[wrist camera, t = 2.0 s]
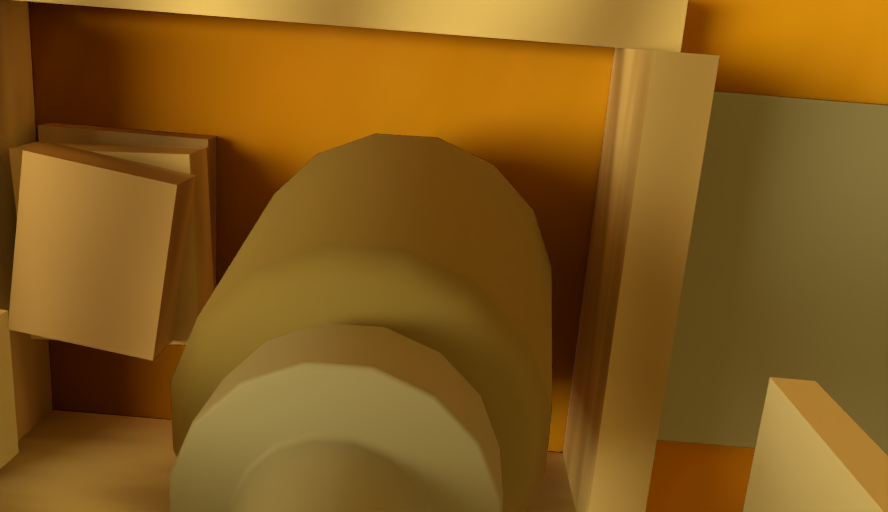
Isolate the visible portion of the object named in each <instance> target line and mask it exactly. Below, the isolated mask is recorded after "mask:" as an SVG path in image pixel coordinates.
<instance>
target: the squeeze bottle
mask: <svg viewBox="0 0 888 512" xmlns="http://www.w3.org/2000/svg"><path fill="white" fill-rule="evenodd" d="M170 383H171V411H172V438H173V451H174V453H175V455H176V457H177V458H176V460H175V463H174V465H173V467H172V470H171V472H170V474H169V497H170V512H524V510H525V508H526V506H527V505H528V503H529V501H530V500H531V498H532V496H533V495H534V493H535V491H536V489H537V488H538V486H539V484H540V483H541V481H542V479H543V478H544V476H545V471H546V461H547V451H548V442H549V432H550V422H551V413H552V266H551V263H550V259H549V256H548V253H547V250H546V247H545V244H544V241H543V238H542V235H541V232H540V229H539V226H538V223H537V219H536V216H535V213H534V210H533V209H532V208H531V207H530V206H529V205H528V204H527V202H526V201H525V200H524V199H523V198H522V197H521V196H520V194H519V193H518V192H517V191H516V190H515V189H514V188H513V186H512V185H511V184H510V183H509V182H508V181H507V180H506V178H505V177H504V176H503V175H502V174H501V173H500V172H499V170H498V169H497V168H496V167H495V166H494V165H493V164H491V163H489V162H487V161H485V160H483V159H481V158H479V157H477V156H475V155H473V154H471V153H468V152H466V151H464V150H462V149H460V148H458V147H456V146H454V145H452V144H450V143H448V142H446V141H444V140H442V139H440V138H438V137H422V136H406V135H390V134H373V135H370V136H367V137H364V138H361V139H359V140H356V141H353V142H350V143H347V144H344V145H341V146H338V147H336V148H333V149H330V150H327V151H324V152H321V153H318V154H317V155H316V156H315V157H314V158H313V159H311V160H310V161H309V162H308V163H307V164H306V165H305V166H304V167H303V168H302V169H301V170H300V171H298V172H297V173H296V174H295V175H294V176H293V177H292V178H291V179H290V180H289V181H288V182H287V183H285V184H284V185H283V186H282V187H281V188H280V189H279V190H278V191H277V192H276V193H275V194H274V195H273V197H272V198H271V200H270V201H269V203H268V205H267V206H266V208H265V209H264V211H263V213H262V214H261V216H260V218H259V219H258V221H257V222H256V224H255V226H254V227H253V229H252V230H251V232H250V234H249V235H248V237H247V238H246V240H245V242H244V243H243V245H242V247H241V248H240V250H239V251H238V253H237V255H236V256H235V258H234V259H233V261H232V263H231V264H230V266H229V267H228V269H227V271H226V272H225V274H224V276H223V277H222V279H221V280H220V282H219V284H218V285H217V287H216V288H215V290H214V292H213V293H212V295H211V296H210V298H209V300H208V301H207V303H206V305H205V306H204V308H203V309H202V311H201V313H200V314H199V316H198V318H197V320H196V322H195V325H194V327H193V329H192V332H191V334H190V336H189V339H188V341H187V343H186V346H185V348H184V351H183V353H182V355H181V358H180V360H179V362H178V365H177V367H176V369H175V372H174V374H173V377H172V379H171V381H170Z"/></svg>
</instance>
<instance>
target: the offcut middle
mask: <svg viewBox="0 0 888 512" xmlns="http://www.w3.org/2000/svg"><path fill="white" fill-rule="evenodd" d="M50 143H55V144H59V145H64V146H68V147H73V148H77V149H82V150H86V151H90V152H95V153H99V154H104V155H108V156H112V157H117V158H121V159H126V160H130V161H135V162H139V163H143V164H148V165H152V166H157V167H161V168H165V169H170V170H174V171H179V172H183V173H187V174H192V175H196V180H195V187H194V194H193V200H192V207H191V214H190V221H189V228H188V235H187V242H186V249H185V256H184V263H183V270H182V277H181V284H180V291H179V298H178V305H177V312H176V319H175V325H174V332H173V339H172V342H171V343H170V344H175V345H186V343H187V341H188V339H189V336H190V334H191V332H192V329H193V327H194V325H195V322H196V320H197V318H198V316H199V314H200V313H201V311H202V309H203V308H204V306H205V305H206V303H207V301H208V300H209V298H210V296H211V295H212V293H213V292H214V283H213V264H212V244H211V224H210V204H209V185H208V166H207V147H187V146H157V145H127V144H97V143H66V142H33V143H29V144H25V145H21V146H17V147H13V148H9V155H10V164H11V172H12V181H13V189H14V198H15V206H16V215H17V213H18V201H19V189H20V178H21V166H22V154H23V150H26V149H30V148H34V147H38V146H42V145H46V144H50ZM31 339H44V340H55V339H50V338H46V337H41V336H37V335H32V334H31Z"/></svg>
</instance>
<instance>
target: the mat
mask: <svg viewBox="0 0 888 512" xmlns="http://www.w3.org/2000/svg"><path fill="white" fill-rule="evenodd" d="M770 377H775V378H786V379H797V380H809V381H816V382H817V383H818V384H819V385H820V386H821V387H822V388H823V390H824V391H825V392H826V393H827V394H828V395H829V396H830V397H831V398H832V399H833V400H834V401H835V402H836V403H837V404H838V405H839V406H840V407H841V408H842V409H843V410H844V411H845V412H846V413H847V414H848V415H849V416H850V417H851V418H852V419H853V421H854V422H855V423H856V424H857V425H858V426H859V427H860V428H861V429H862V430H863V431H864V432H865V433H866V434H867V435H868V436H869V437H870V438H871V439H872V440H873V441H874V442H875V443H876V444H877V445H878V446H879V447H880V448H881V449H882V451H883V452H884V453H885V454H886V455H887V456H888V105H881V104H869V103H856V102H843V101H831V100H818V99H806V98H793V97H780V96H768V95H755V94H742V93H730V92H717V91H714V95H713V101H712V107H711V113H710V119H709V125H708V131H707V138H706V144H705V150H704V156H703V162H702V168H701V174H700V180H699V187H698V193H697V199H696V205H695V211H694V217H693V223H692V229H691V235H690V242H689V248H688V254H687V260H686V266H685V272H684V278H683V284H682V291H681V297H680V303H679V309H678V315H677V321H676V327H675V333H674V339H673V346H672V352H671V358H670V364H669V370H668V376H667V382H666V388H665V395H664V401H663V407H662V413H661V419H660V425H659V431H658V437H657V440H663V441H675V442H687V443H699V444H711V445H723V446H735V447H747V448H756V443H757V438H758V433H759V428H760V423H761V418H762V413H763V408H764V403H765V398H766V393H767V388H768V384H769V379H770Z"/></svg>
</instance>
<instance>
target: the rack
mask: <svg viewBox="0 0 888 512" xmlns="http://www.w3.org/2000/svg"><path fill="white" fill-rule="evenodd" d="M28 1H30V2H42V3H55V4H68V5H81V6H93V7H106V8H119V9H131V10H144V11H157V12H169V13H182V14H195V15H207V16H220V17H233V18H246V19H258V20H271V21H284V22H296V23H309V24H322V25H334V26H347V27H360V28H373V29H385V30H398V31H411V32H423V33H436V34H449V35H461V36H474V37H487V38H500V39H512V40H525V41H538V42H550V43H563V44H576V45H588V46H601V47H614V48H615V50H614V58H613V66H612V74H611V81H610V89H609V97H608V105H607V112H606V120H605V128H604V136H603V143H602V151H601V159H600V167H599V174H598V182H597V190H596V198H595V205H594V213H593V221H592V229H591V236H590V244H589V252H588V260H587V268H586V275H585V283H584V291H583V299H582V306H581V314H580V322H579V330H578V337H577V345H576V353H575V361H574V368H573V376H572V384H571V392H570V399H569V407H568V415H567V423H566V430H565V438H564V446H563V453H562V452H550V451H547V461H546V471H545V476H544V478H543V479H542V481H541V483H540V484H539V486H538V488H537V489H536V491H535V493H534V495H533V496H532V498H531V500H530V501H529V503H528V505H527V506H526V508H525V510H524V512H645V511H646V505H647V499H648V492H649V486H650V480H651V474H652V468H653V462H654V456H655V450H656V443H657V437H658V431H659V425H660V419H661V413H662V407H663V401H664V395H665V388H666V382H667V376H668V370H669V364H670V358H671V352H672V346H673V339H674V333H675V327H676V321H677V315H678V309H679V303H680V297H681V291H682V284H683V278H684V272H685V266H686V260H687V254H688V248H689V242H690V235H691V229H692V223H693V217H694V211H695V205H696V199H697V193H698V187H699V180H700V174H701V168H702V162H703V156H704V150H705V144H706V138H707V131H708V125H709V119H710V113H711V107H712V101H713V95H714V89H715V83H716V76H717V70H718V64H719V58H720V55H707V54H695V53H682V52H681V45H682V39H683V32H684V25H685V19H686V12H687V5H688V0H0V310H8V319H9V309H10V297H11V285H12V273H13V261H14V249H15V237H16V225H17V215H16V206H15V198H14V189H13V181H12V172H11V164H10V155H9V148H13V147H17V146H21V145H25V144H29V143H33V142H37V141H36V125H35V108H34V92H33V76H32V59H31V43H30V26H29V10H28ZM9 332H10V345H11V359H12V372H13V385H14V398H15V411H16V424H17V437H18V450H19V453H18V454H16V455H15V456H14V457H13V458H12V459H11V460H10V461H9V462H8V463H6V464H5V465H4V466H3V467H2V468H1V469H0V512H170V497H169V474H170V472H171V470H172V467H173V465H174V463H175V460H176V458H177V457H176V455H175V453H174V451H173V438H172V420H166V419H154V418H142V417H130V416H118V415H106V414H95V413H83V412H71V411H59V410H53V405H52V388H51V372H50V355H49V340H44V339H31V334H28V333H23V332H18V331H14V330H9Z"/></svg>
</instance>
